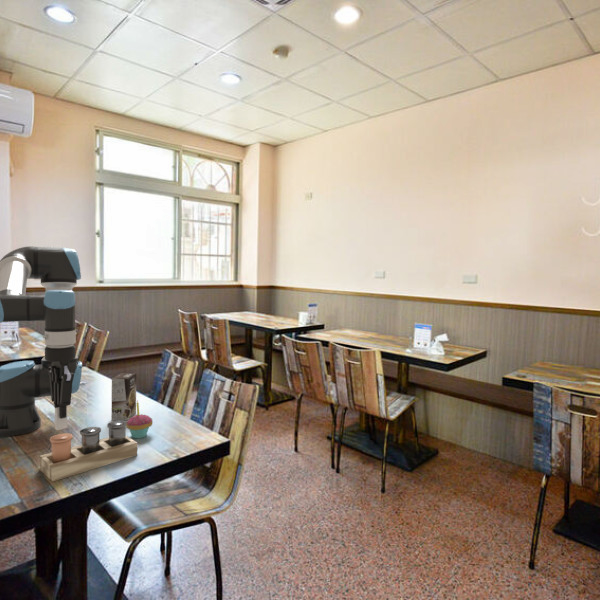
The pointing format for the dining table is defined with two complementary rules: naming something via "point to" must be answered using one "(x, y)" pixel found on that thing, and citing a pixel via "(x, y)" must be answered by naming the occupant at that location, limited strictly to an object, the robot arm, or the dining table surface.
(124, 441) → the plug
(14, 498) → the dining table surface
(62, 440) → the plug terracotta
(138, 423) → the cupcake
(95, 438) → the plug
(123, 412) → the coffee box
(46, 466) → the wooden holder
